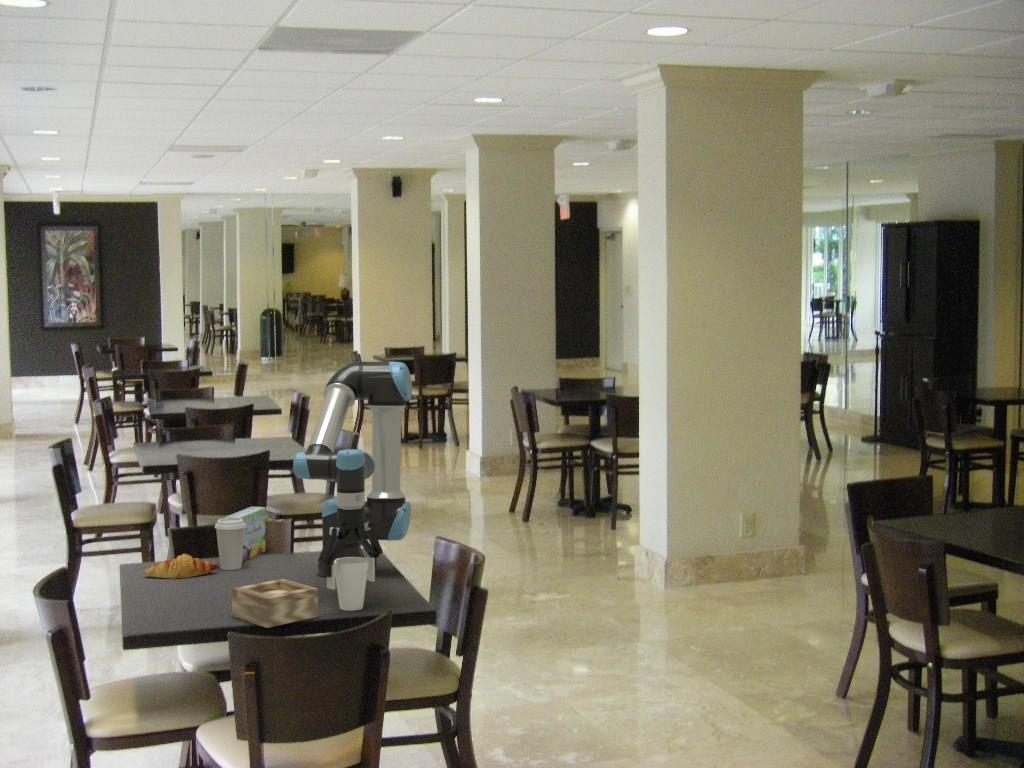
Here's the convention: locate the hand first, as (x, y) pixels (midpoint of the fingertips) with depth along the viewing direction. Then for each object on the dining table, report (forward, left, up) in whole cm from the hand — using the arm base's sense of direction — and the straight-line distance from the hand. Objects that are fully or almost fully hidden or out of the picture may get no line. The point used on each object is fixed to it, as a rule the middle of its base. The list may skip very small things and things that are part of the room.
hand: (351, 584), depth 335 cm
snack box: (-16, -75, -7) cm, 77 cm away
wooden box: (+20, -7, -6) cm, 22 cm away
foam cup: (0, 0, -7) cm, 7 cm away
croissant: (+12, -67, -7) cm, 69 cm away
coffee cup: (-4, -65, -7) cm, 66 cm away
